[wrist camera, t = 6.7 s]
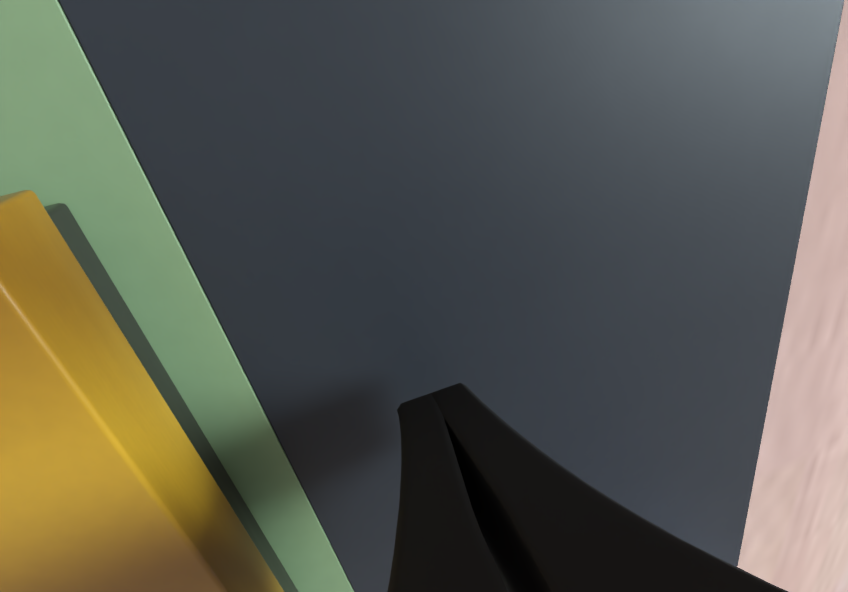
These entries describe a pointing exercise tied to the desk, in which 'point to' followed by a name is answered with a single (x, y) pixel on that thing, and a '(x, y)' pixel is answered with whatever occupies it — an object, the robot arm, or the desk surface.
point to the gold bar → (103, 437)
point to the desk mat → (438, 231)
